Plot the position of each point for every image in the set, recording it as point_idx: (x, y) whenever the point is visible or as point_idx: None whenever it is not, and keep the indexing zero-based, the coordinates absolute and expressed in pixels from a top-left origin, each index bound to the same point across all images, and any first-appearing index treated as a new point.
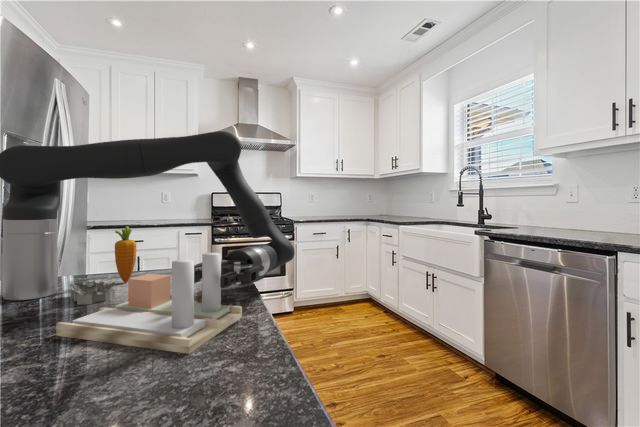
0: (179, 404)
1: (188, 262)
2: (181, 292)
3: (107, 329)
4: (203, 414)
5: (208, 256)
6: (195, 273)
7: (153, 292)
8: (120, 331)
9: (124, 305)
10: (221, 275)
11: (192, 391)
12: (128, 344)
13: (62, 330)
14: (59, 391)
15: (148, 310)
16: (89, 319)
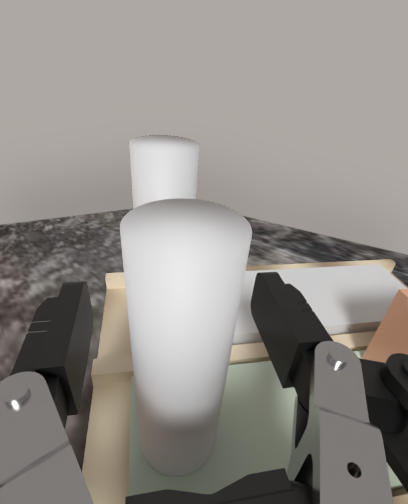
0: (53, 230)
1: (134, 139)
2: None
3: (286, 264)
4: (19, 227)
5: (168, 204)
6: (276, 317)
7: (387, 330)
8: (258, 266)
9: None
10: (84, 283)
11: (49, 242)
12: None
13: None
14: None
15: (357, 352)
16: (364, 273)
